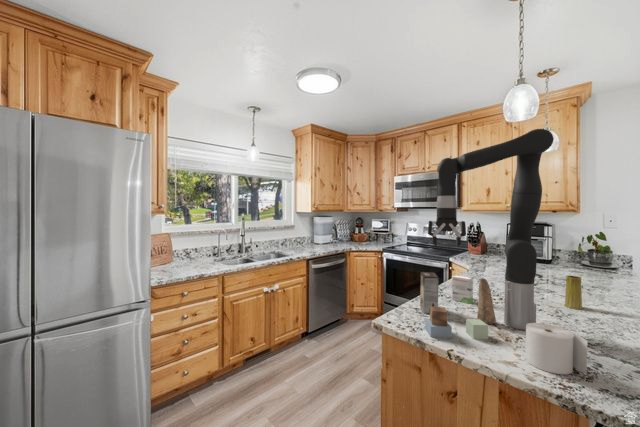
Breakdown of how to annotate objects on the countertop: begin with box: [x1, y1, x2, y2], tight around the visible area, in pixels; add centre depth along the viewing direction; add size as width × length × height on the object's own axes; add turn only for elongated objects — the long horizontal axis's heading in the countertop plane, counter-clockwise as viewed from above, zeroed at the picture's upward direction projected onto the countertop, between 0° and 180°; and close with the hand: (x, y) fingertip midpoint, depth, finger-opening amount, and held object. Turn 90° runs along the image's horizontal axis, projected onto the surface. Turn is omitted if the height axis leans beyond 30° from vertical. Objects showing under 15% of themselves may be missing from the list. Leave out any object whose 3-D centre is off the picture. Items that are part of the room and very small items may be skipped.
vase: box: [564, 275, 583, 310], centre depth 128 cm, size 6×6×14 cm
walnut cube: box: [429, 306, 448, 326], centre depth 100 cm, size 5×5×5 cm
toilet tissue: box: [524, 322, 589, 376], centre depth 80 cm, size 11×12×10 cm
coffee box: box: [419, 271, 439, 314], centre depth 123 cm, size 9×6×16 cm
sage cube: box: [465, 318, 489, 340], centre depth 98 cm, size 5×5×5 cm
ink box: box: [451, 275, 474, 304], centre depth 136 cm, size 9×5×12 cm, turn 44°
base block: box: [424, 318, 453, 339], centre depth 100 cm, size 7×7×4 cm
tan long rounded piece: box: [476, 277, 497, 325], centre depth 110 cm, size 6×18×6 cm
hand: (446, 245), depth 115 cm, fingers open, 8 cm apart
